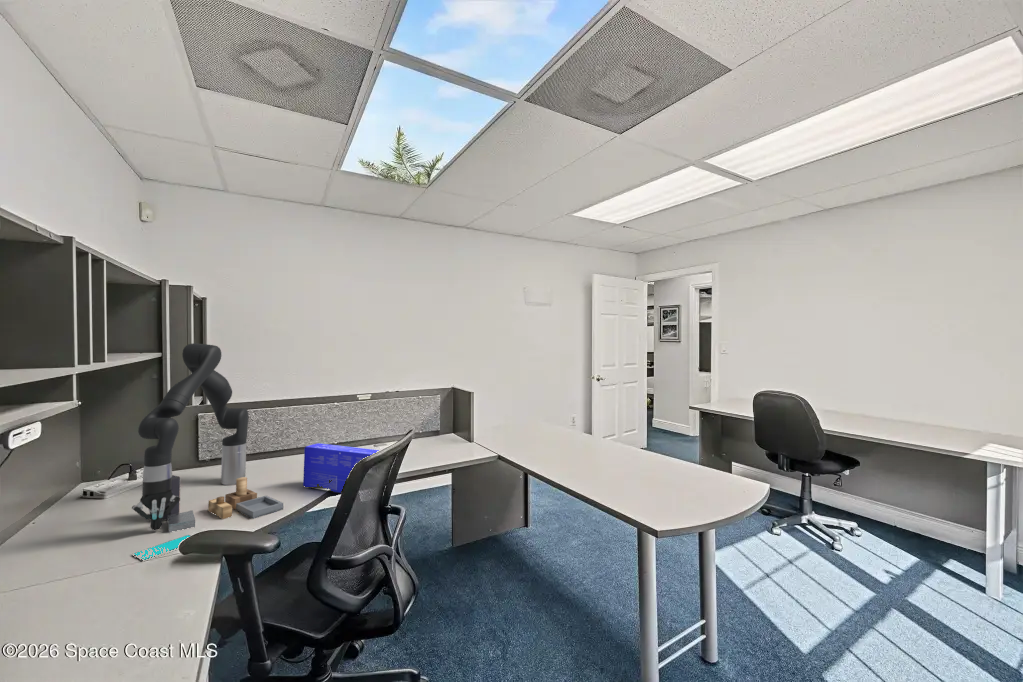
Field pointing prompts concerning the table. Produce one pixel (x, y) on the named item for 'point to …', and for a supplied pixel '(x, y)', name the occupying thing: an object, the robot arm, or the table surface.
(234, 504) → the socket block
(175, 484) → the tall lidded box
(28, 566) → the table surface
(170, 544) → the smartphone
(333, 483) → the toner cartridge box
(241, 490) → the dowel
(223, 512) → the stop block
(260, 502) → the tray
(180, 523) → the grey rectangular block
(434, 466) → the table surface
